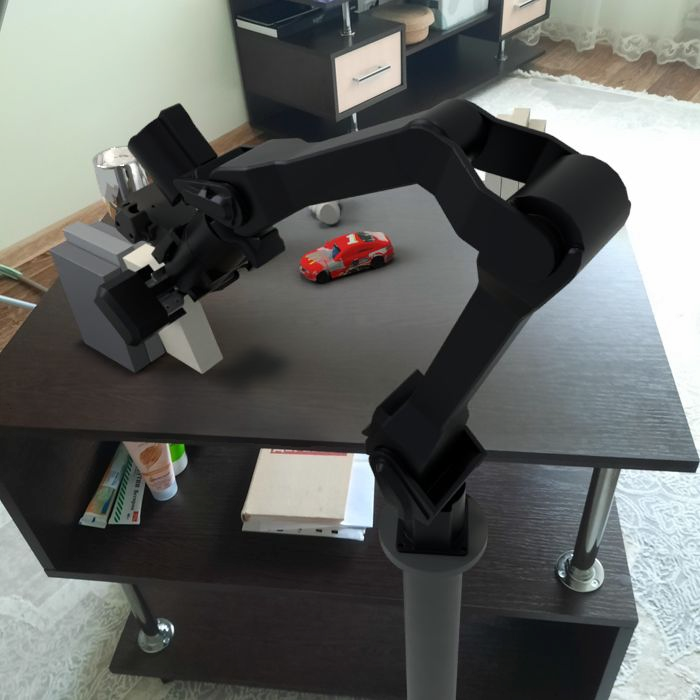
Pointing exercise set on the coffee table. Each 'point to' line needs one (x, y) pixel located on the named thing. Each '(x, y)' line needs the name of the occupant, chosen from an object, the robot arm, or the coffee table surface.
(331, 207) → the pale two-lobed sculpture
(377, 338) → the coffee table surface
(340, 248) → the race car
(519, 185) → the white books
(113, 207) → the silver metal cup
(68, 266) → the grey books
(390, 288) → the coffee table surface
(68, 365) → the coffee table surface
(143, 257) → the white book
